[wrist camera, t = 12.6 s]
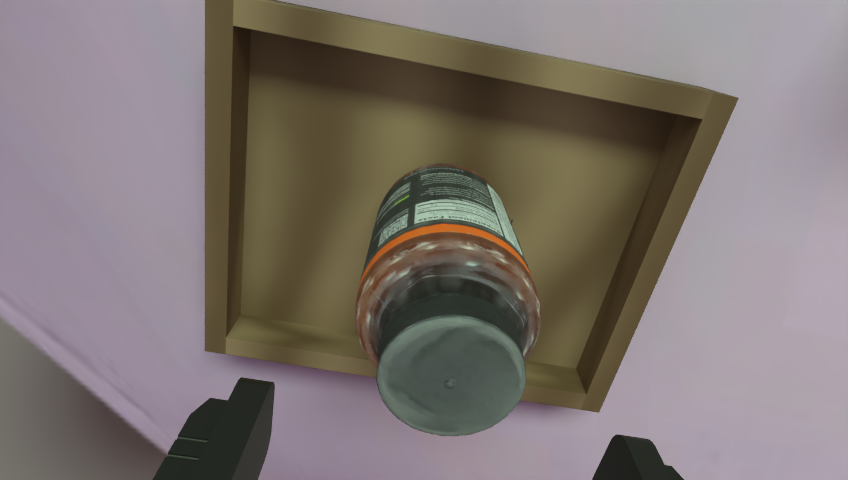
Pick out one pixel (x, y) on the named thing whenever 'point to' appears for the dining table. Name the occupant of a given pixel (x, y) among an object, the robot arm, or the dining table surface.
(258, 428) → the robot arm
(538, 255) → the serving tray
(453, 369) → the supplement bottle
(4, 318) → the dining table surface
